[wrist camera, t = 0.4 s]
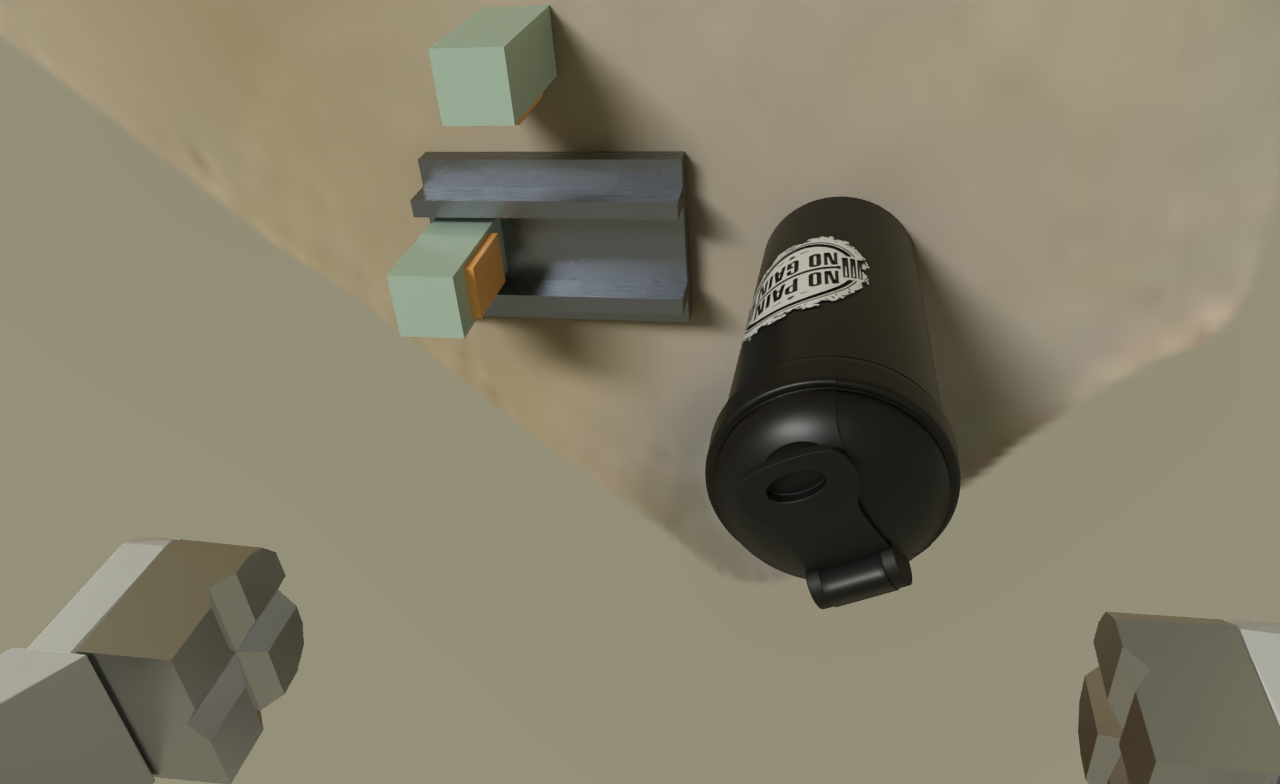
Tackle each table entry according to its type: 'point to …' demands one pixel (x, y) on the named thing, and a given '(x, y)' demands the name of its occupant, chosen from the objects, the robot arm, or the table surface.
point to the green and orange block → (448, 277)
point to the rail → (574, 229)
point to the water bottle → (836, 409)
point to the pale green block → (494, 66)
